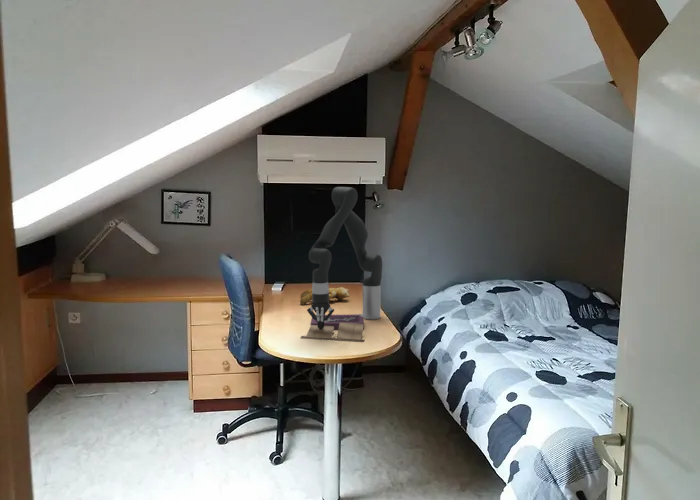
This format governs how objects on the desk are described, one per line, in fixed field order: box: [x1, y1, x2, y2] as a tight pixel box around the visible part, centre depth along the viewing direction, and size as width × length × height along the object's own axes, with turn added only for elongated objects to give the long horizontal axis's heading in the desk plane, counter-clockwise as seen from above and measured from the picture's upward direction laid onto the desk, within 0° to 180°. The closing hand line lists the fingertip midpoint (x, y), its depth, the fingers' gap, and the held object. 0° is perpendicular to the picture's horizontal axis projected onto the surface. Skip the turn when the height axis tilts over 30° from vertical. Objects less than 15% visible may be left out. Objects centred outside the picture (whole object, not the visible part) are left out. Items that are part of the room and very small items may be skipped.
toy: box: [299, 286, 351, 305], centre depth 318 cm, size 14×9×30 cm
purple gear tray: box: [310, 313, 365, 331], centre depth 264 cm, size 25×16×5 cm, turn 91°
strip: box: [299, 335, 365, 343], centre depth 241 cm, size 3×29×2 cm, turn 78°
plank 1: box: [305, 324, 334, 338], centre depth 248 cm, size 9×11×1 cm
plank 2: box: [335, 323, 365, 339], centre depth 244 cm, size 9×11×1 cm
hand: (321, 328), depth 249 cm, fingers closed
